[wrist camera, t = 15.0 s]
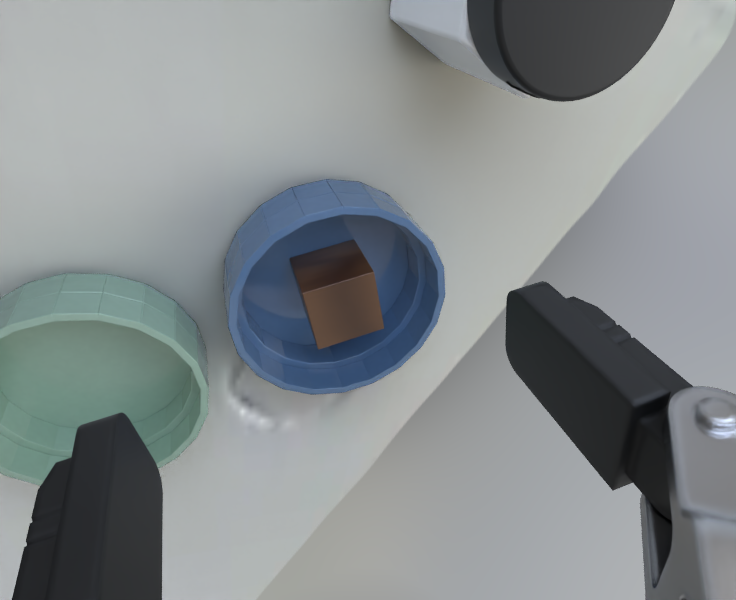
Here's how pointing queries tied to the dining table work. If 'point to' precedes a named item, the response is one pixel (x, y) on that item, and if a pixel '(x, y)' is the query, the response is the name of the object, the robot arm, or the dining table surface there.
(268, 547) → the dining table surface
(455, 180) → the dining table surface
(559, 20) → the jar
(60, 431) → the celadon bowl
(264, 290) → the blue bowl
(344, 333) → the walnut block
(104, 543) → the robot arm
